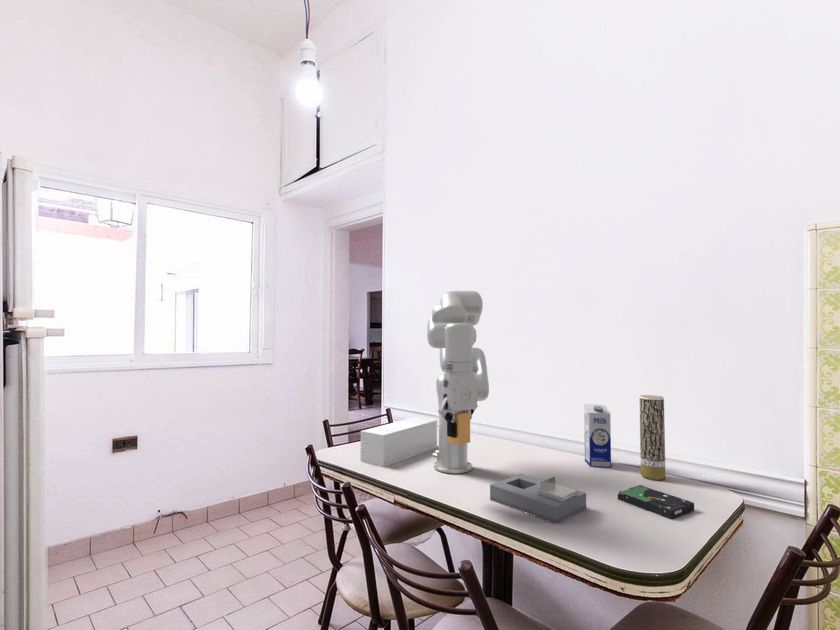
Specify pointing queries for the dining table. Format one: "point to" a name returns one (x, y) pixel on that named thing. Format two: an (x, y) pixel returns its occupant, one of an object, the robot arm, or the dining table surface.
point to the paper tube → (652, 437)
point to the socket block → (534, 499)
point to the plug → (461, 428)
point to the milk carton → (597, 435)
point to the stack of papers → (398, 441)
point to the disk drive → (656, 502)
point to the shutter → (554, 490)
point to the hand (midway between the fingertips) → (458, 434)
